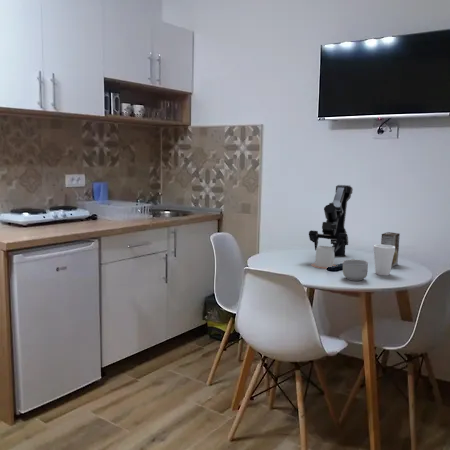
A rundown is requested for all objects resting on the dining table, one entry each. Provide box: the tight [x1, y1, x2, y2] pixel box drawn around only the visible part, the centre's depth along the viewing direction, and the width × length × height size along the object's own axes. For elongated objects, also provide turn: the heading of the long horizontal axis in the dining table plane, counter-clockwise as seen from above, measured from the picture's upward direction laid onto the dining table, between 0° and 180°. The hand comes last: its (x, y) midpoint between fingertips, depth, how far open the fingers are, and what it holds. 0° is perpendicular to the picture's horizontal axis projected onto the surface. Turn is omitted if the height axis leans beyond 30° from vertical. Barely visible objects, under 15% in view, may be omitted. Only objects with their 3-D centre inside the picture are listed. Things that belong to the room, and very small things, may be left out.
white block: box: [314, 245, 335, 268], centre depth 225 cm, size 7×7×9 cm
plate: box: [310, 262, 337, 270], centre depth 225 cm, size 13×13×1 cm
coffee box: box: [380, 231, 401, 268], centre depth 233 cm, size 9×6×16 cm
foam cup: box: [373, 243, 395, 276], centre depth 213 cm, size 10×9×13 cm
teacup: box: [341, 258, 369, 282], centre depth 204 cm, size 14×11×8 cm
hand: (324, 250), depth 223 cm, fingers open, 9 cm apart
